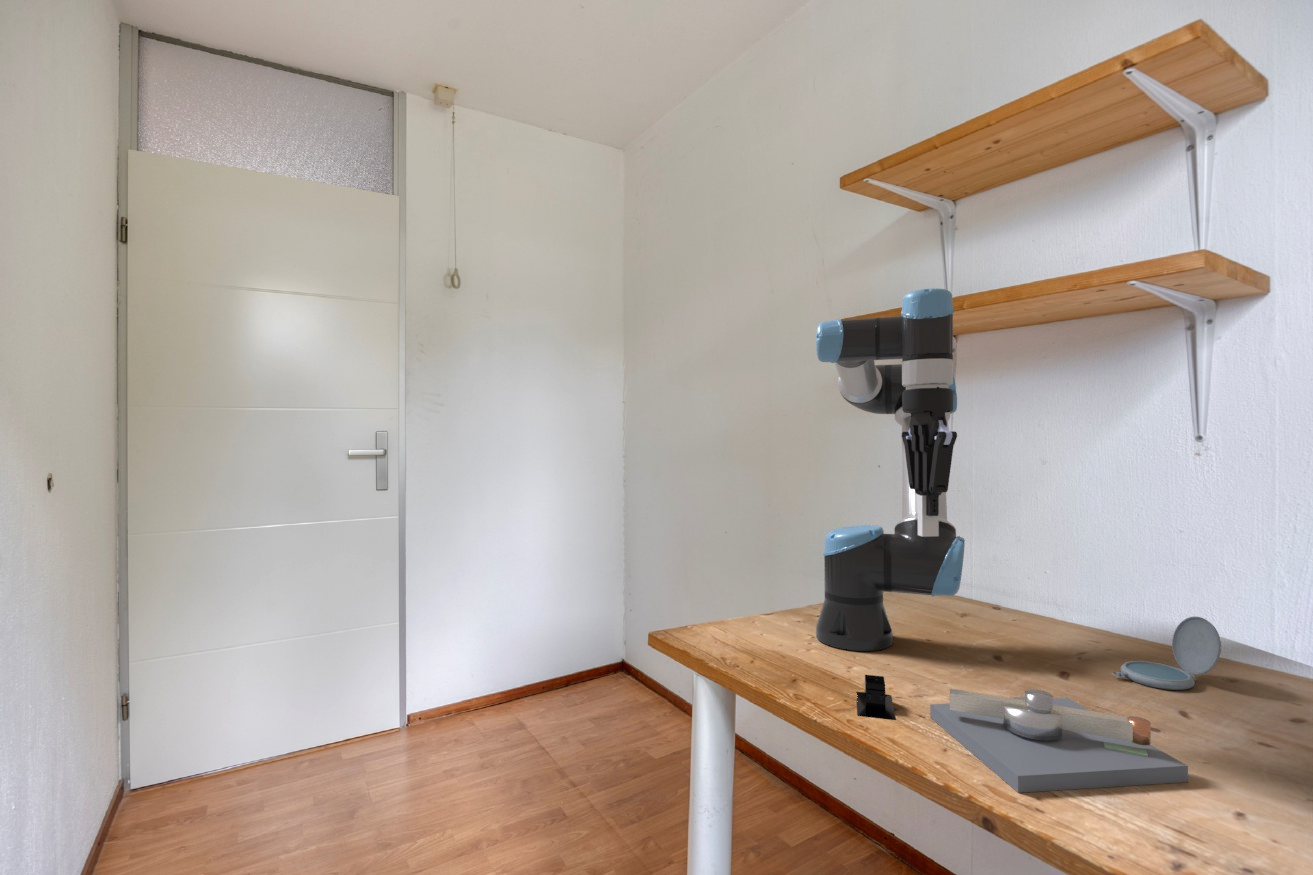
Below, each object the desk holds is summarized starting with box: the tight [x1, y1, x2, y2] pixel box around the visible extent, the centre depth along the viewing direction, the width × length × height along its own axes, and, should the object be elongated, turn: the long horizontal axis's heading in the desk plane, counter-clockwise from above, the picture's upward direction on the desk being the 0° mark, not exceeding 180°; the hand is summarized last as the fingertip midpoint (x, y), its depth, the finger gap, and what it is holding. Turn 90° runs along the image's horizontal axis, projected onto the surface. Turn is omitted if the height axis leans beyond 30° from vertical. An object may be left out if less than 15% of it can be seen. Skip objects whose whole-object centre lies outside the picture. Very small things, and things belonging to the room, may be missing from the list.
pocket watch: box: [1111, 616, 1222, 691], centre depth 109 cm, size 10×11×15 cm
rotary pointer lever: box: [949, 688, 1152, 745], centre depth 86 cm, size 7×23×5 cm, turn 63°
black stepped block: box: [855, 674, 897, 721], centre depth 100 cm, size 12×7×5 cm, turn 164°
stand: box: [929, 697, 1189, 794], centre depth 86 cm, size 20×22×2 cm
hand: (928, 535), depth 101 cm, fingers closed
